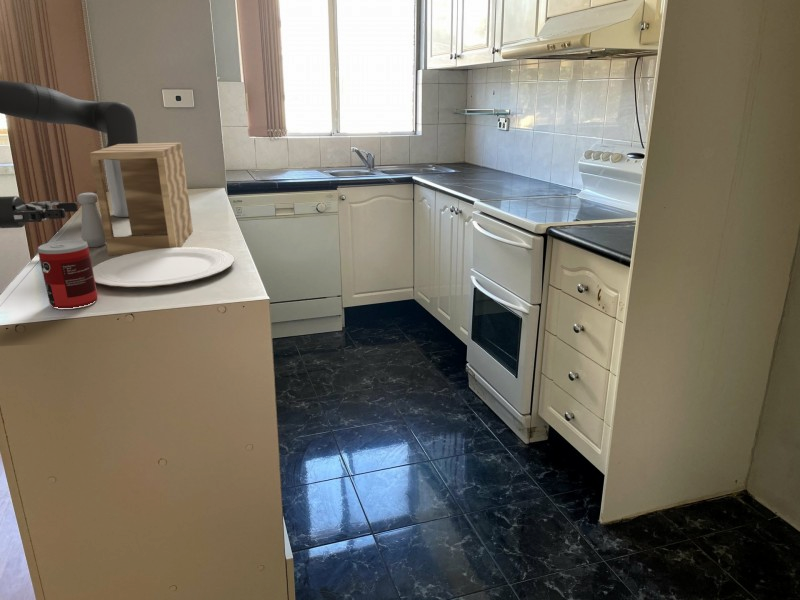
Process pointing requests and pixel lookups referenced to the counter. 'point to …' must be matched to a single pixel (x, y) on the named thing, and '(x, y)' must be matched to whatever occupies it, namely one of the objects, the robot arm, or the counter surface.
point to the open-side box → (147, 196)
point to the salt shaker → (91, 221)
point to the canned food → (68, 273)
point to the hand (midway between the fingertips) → (71, 210)
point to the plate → (161, 267)
